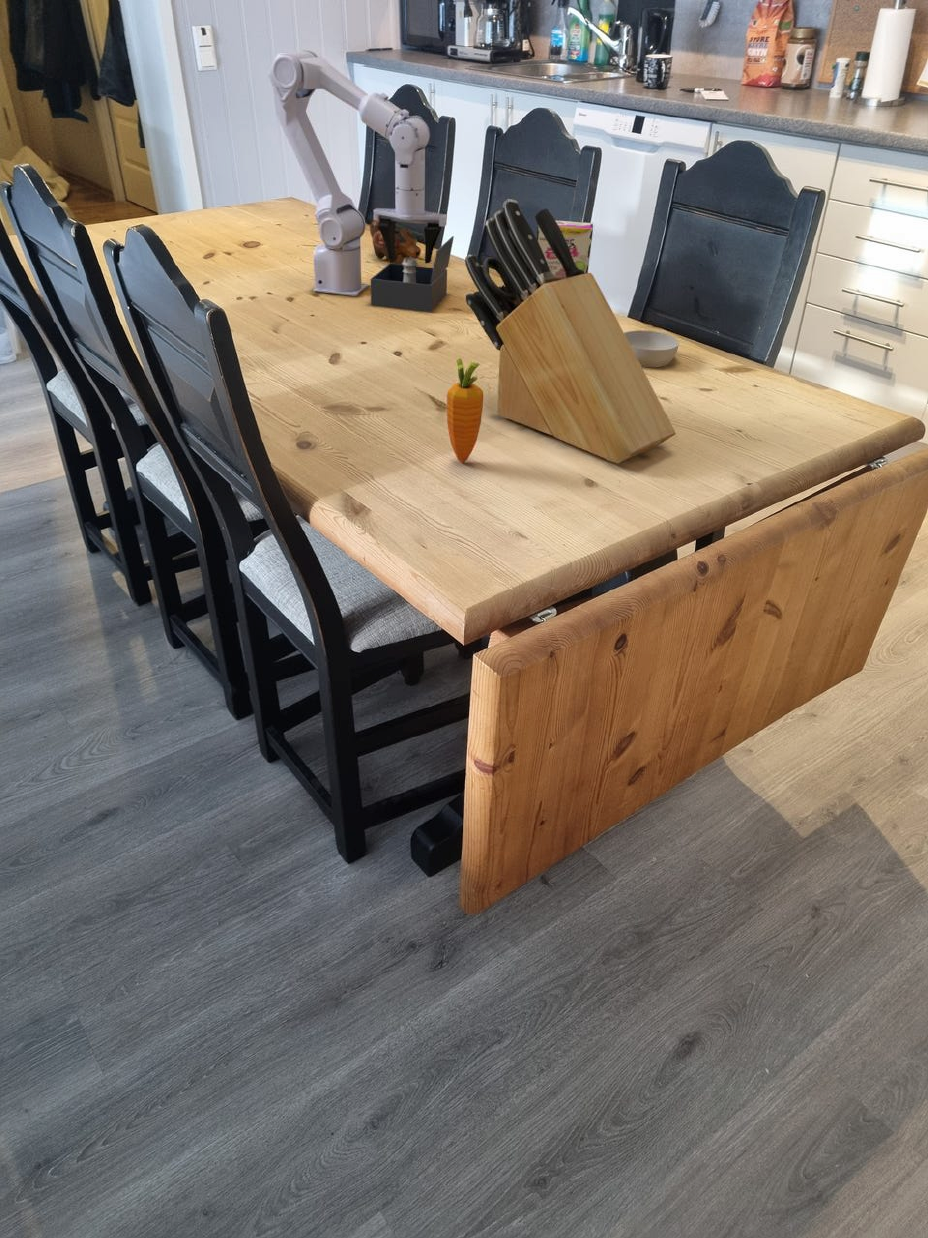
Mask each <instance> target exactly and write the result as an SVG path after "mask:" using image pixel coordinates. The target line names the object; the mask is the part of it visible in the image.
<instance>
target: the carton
mask: <svg viewBox="0 0 928 1238" xmlns="http://www.w3.org/2000/svg"><path fill="white" fill-rule="evenodd" d="M415 269H416V271H417V272H416V283H417V284H416V283H407V282H403V279H404V272H403V270H404V266H403V265H402V263H401V264H399V263H390V262H389V263H388V264H387V265H386V266H384V267H383V268H382V269H381V270H380V271H378V272H377V273H376V274H375V275H374V276H372V277H371V278H370V305H371V306H372V307H381V308H389V309H399V310H406V311H408V310H409V311H415V312H423V313H432V312H433V311H434V310H435V308H436V307H438V305H440V303H441V302H442V301H443V300H444V299H445V298H446V296H447V293H448V292H447V291H448V269H447V268H446V269H445V270H444V271H443V272H442V273H441V274H440V275H439V276H438V277H437V278H436V279H435V280H434V281H433V282H431V277H432V272H433V267H428V266H420V265H419V266H418V265H417V266H416V268H415Z"/></svg>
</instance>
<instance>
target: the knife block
mask: <svg viewBox="0 0 928 1238" xmlns="http://www.w3.org/2000/svg"><path fill="white" fill-rule="evenodd" d="M534 219H535V223H536V225H537V227H538V226H539V228H540V229H541V231H542V233H543V235H544V236H545V238H546V240H547V242H548V243H549V245H550V247H551V249H552V251H553V252H554V254H555V255H556V257H557V258H558V260H559V261H560V263H561V265H562V266H563V269H564V271H565V272H566V278H565V279H563V277H560V276H555V275H553V274H552V272H551V271H550V269H549V266H548V264H547V261H546V259H545V256H544V254H543V251H542V249H541V247H540V245H539V243H538V241H537V239H536V238H537V236H536V235H535V233H534V231H533V230H532V228H531V226H530V224H529V222H528V221H527V220H526V217H525V216H524V215H523V213H522V211H521V209H520V206H519V202H518V201H517V200H515V199H512V198H508V199H506V200H505V201H504V202H503V204H502V210H501V209H499V210H497V211H496V212H495V213H494V214H493V217H490V218H488V219H487V220H486V221H485V231H486V234H487V237H488V240H489V242H490V245H491V247H492V249H493V252H494V253H495V255H496V258H495V257H492V256H491V257H487V258H486V259H484V260H483V263H482V265H481V263H480V261H479V259H478V257H477V255H476V254H468V255H466V256H465V257H464V263H465V267H466V270H467V272H468V274H469V276H470V278H471V280H472V282H473V284H474V287H476V289H477V291H474V292H473V293H467V294H466V295H465V302H466V305H468V307H469V308H470V309H471V310H472V312H473V315H474V316H475V317H476V319H477V321H478V323H479V324H480V326H481V328H482V329H483V331H484V332H485V334H486V336H487V337H488V339H489V341H491V343H492V344H493V346H494V347H495V349H496V350H497V351H499V359H498V360H499V361H498V364H499V365H498V377H497V378H498V381H497V383H498V384H497V403H496V414H497V415H499V416H502V417H503V418H504V419H507V420H511V421H514V422H517V423H519V424H522V425H523V426H526V427H529V428H531V429H535V430H536V431H539V432H542V433H544V434H547V435H550V436H553V437H554V438H556V439H558V440H560V441H563V442H565V443H568V444H570V445H571V446H574V447H577V448H579V449H581V450H584V451H587V452H589V453H591V454H593V455H596V456H598V457H601V458H603V459H605V460H606V461H608V462H610V463H616V464H620V463H622V462H623V461H626V460H628V459H630V458H632V457H635V456H638V455H639V454H641V453H644V452H646V451H649V450H651V449H653V448H655V447H657V446H659V445H661V444H663V443H665V442H666V441H668V440H670V439H671V438H672V437H674V436H676V435H677V432H676V430H675V428H674V426H673V424H672V423H671V421H670V419H669V417H668V416H667V413H666V411H665V409H664V407H663V406H662V404H661V402H660V400H659V397H658V396H657V394H656V391H655V390H654V388H653V385H652V384H651V382H650V380H649V378H648V376H647V374H646V372H645V371H644V369H643V367H642V366H641V365H640V363H639V361H638V359H637V357H636V355H635V353H634V352H633V350H632V348H631V346H630V344H629V342H628V340H627V338H626V336H625V334H624V333H625V332H624V330H623V329H622V327H621V325H620V323H619V321H618V319H617V317H616V315H615V314H614V312H613V310H612V308H611V306H610V304H609V302H608V301H607V298H606V296H605V295H604V292H603V291H602V289H601V287H600V285H599V284H598V282H597V280H596V278H595V277H594V274H593V273H592V272H588V273H586V274H585V273H584V271H583V270H580V269H578V268H577V266H576V265H575V263H574V260H573V258H572V255H571V252H570V249H569V247H568V244H567V242H566V240H565V238H564V236H563V234H562V232H561V230H560V228H559V226H558V224H557V223H556V221H555V220H556V219H555V218H554V216H553V214H552V213H551V211H550V210H549V209H548V208H543V209H541V210H539V211H538V212H537V213H536V214H535V215H534ZM490 267H492V268H494V270H495V272H496V273H497V274H498V275H499V277H500V280H501V281H502V283H503V284H502V286H501V285H500V286H498V285H497V284H496V283H495V281H494V280H493V278H492V276H491V275H490Z"/></svg>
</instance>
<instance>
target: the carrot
mask: <svg viewBox="0 0 928 1238" xmlns="http://www.w3.org/2000/svg"><path fill="white" fill-rule="evenodd" d="M455 361H456V364H457V375H458V379H459V382H457V383H454V384H453V385H452V386H451V387H450V388H449V389H448V390H447V393H446V423H447V430H448V435H449V440H450V444H451V447H452V450H453V452H454V454H455V456H456V458H457V460H458V461H459V462H460V463H461V464H465V462H467V460H468V459H469V457H470V455H471V454H472V452H473V450H474V448H475V446H476V443H477V440H478V436H479V433H480V428H481V423H482V418H483V417H482V416H483V407H484V391H483V389H482V388H481V387H479V385H477V384H475V382H476V381H477V380H478V377H477V376H472V375H473V373H474V372H475V370H476V369H477V368H478V367H479V366H480V365H481V364H480V363H478V362H475V361H470V363H469V364H468V365H467V368H466V370H465V369H464V363H463V360H462V358H461V357H460V358H459V357H458V358H456V360H455Z"/></svg>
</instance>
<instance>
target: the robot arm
mask: <svg viewBox="0 0 928 1238" xmlns="http://www.w3.org/2000/svg"><path fill="white" fill-rule="evenodd" d="M268 79H269V81H270V83H271V85H272V89H273V98H274V99H273V100H274V109H275V114H276V117H277V118H278V121H279V123H280V126H281V127H282V130H283V132H284V134H285V136H286V138H287V140H288V144H289V145H290V147H291V149H292V152H293V154H294V156H295V158H296V160H297V162H298V164H299V167H300V169H301V172H302V173H303V176H304V177H305V180H306V182H307V184H308V186H309V189H310V190H311V191H310V192H311V193H312V195H313V198H314V200H315V202H316V208H315V211H314V217H315V220H316V222H317V226H318V234H319V238H320V239H321V241H322V243H319V244H317V245H316V246H315V248H314V252H313V273H314V274H313V275H314V288H313V292H316V293H325V294H332V295H333V294H334V295H343V296H350V297H351V296H352V297H357V296H358V295H360V294H361V293H362V292H363V291H364V290H366V289H367V288H368V287H369V284H368V283H362V251H361V250H362V248H361V238H362V237H363V236H364V234H365V232H366V227H367V226H366V225H367V224H366V219H365V217H364V215H363V214H362V212H361V211H360V210H359V209H358V208H357V207H356V206H355V204H354V202H353V200H352V199H351V198H350V197H349V196H348V195H347V194H346V193H344V192H343V191H342V189H341V187H340V185H339V182H338V181H337V178H336V176H335V174H334V172H333V169H332V167H331V165H330V163H329V160H328V158H327V156H326V154H325V151H324V149H323V147H322V145H321V143H320V140H319V138H318V136H317V133H316V131H315V129H314V127H313V124H312V122H311V120H310V118H309V116H308V113H307V108H308V106H309V103H310V99H311V98H312V96H313V94H314V93H315V91H316V90H324V91H326V92H328V93H329V94H331V95H332V96H334V97H335V98H337V99H338V100H341V101H342V102H343V103H346V105H348V106H350V107H352V108H353V109H355V110H356V111H358V113H359V117H360V120H361V122H362V123H363V124H364V125H366V126H367V127H369V128H370V129H372V130H373V131H375V132H377V133H378V134H379V135H380V136H382V137H383V138H385V139H386V140H388V141H389V143H390V146H391V148H392V149H393V151H394V159H395V160H394V161H395V162H394V171H395V172H394V173H395V174H394V176H395V180H394V181H395V185H394V188H395V191H394V192H395V193H394V194H395V199H394V200H395V202H394V203H395V204H394V205H395V208H386V207H385V208H383V207H382V208H381V207H376V208H375V209H373V221H375V220H379V223H378V224H377V226H378V229H379V231H380V233H381V235H382V237H383V239H384V242H385V245H386V248H387V252H388V257H389V260H393V259H394V258H395V229H396V225H397V222H398V223H409V224H418V225H419V224H420V225H426V226H425V227H424V228H423V233H424V243H425V245H424V248H425V249H424V264H427V265H428V264H430V263H431V262H432V258H433V252H434V249H435V245H436V242H437V240H438V237H439V235H440V233H441V231H442V228H444V227H445V226H447V221H448V220H447V219H448V217H447V216H448V215H447V214H446V213H439V212H433V211H428V210H425V207H426V205H425V203H426V201H425V200H426V199H425V198H426V196H425V195H426V194H425V192H426V189H425V188H426V147H427V145H428V144H429V142H430V139H431V132H430V128H429V126H428V124H427V122H426V121H424V119H423V118H422V117H421V116H419V115H412V116H410V115H409V114H410V112H409V111H408V110H407V109H401V108H399V107H398V106H397V105H395V104H394V103H393V102H391V101H389V95H387V94H386V93H384V92H382V93H378V92H373V93H370V94H369V93H367V92H366V91H364V90H363V89H362V88H360V87H359V86H358V85H357V84H356V83H354V82H353V81H352V80H350V79H349V78H348V77H346V76H345V74H343V73H342V72H340V71H339V70H338V69H336V68H335V66H333V65H332V64H330V62H329V61H328V60H327V59H326V58H325V57H322V56H319V55H318V54H317V53H316V52H315V51H313V50H309V49H305V50H302V51H297V52H295V51H294V52H280V53H278V54H277V55H276V56H274V58H273V60H272V63H271V67H270V70H269V73H268Z"/></svg>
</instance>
